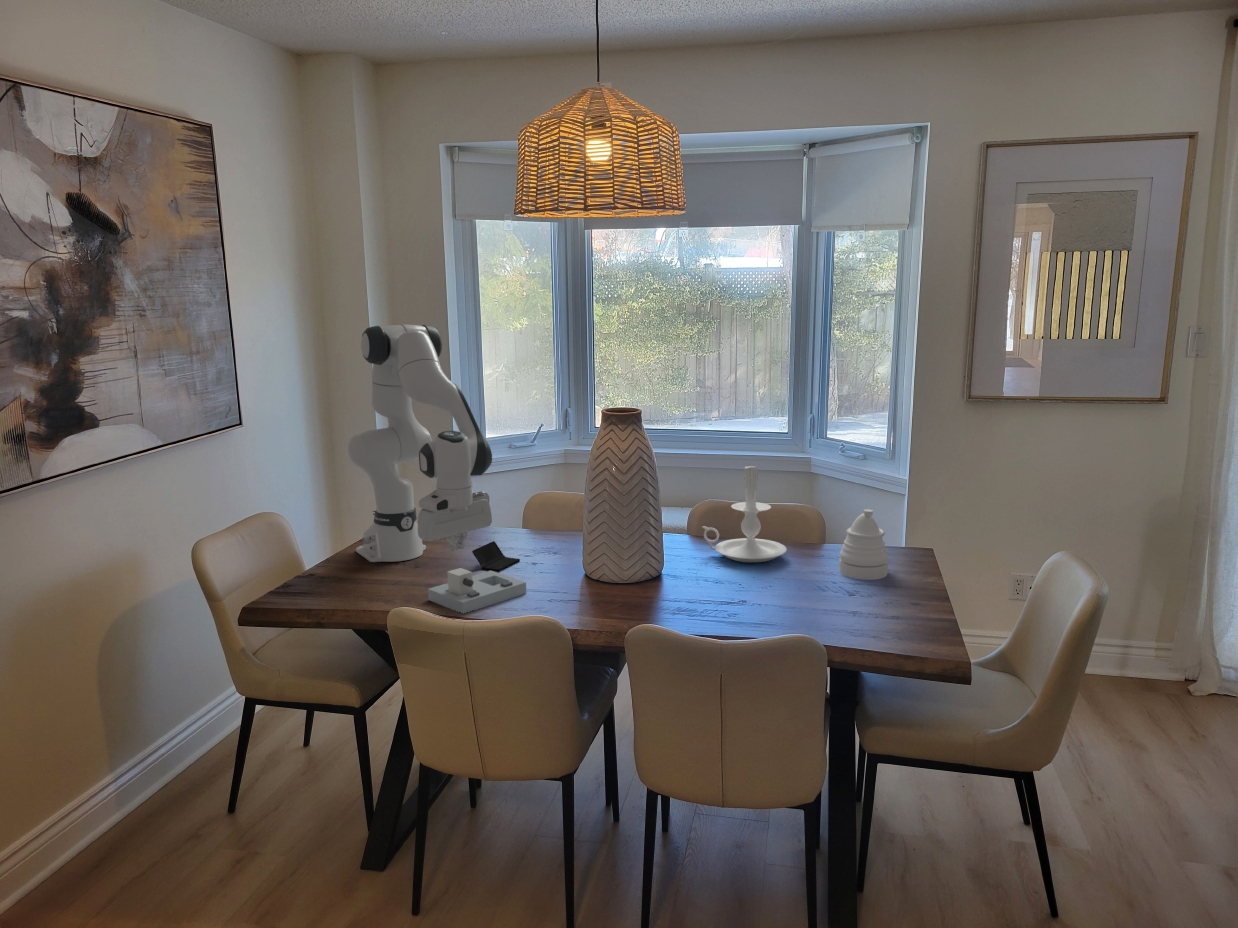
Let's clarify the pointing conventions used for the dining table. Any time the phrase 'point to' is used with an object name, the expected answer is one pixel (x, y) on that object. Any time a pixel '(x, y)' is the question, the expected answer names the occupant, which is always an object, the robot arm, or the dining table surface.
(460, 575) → the plug
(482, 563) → the handheld gaming console
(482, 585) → the plate
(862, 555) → the honey pot
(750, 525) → the candlestick
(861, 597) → the dining table surface
